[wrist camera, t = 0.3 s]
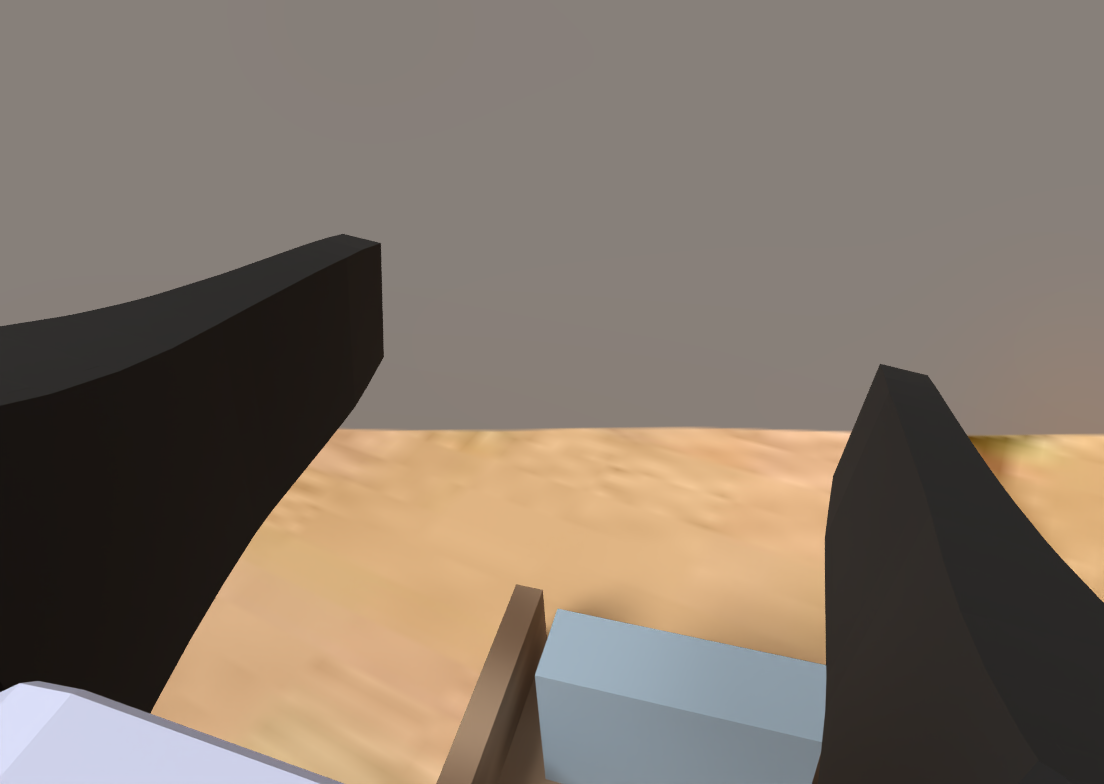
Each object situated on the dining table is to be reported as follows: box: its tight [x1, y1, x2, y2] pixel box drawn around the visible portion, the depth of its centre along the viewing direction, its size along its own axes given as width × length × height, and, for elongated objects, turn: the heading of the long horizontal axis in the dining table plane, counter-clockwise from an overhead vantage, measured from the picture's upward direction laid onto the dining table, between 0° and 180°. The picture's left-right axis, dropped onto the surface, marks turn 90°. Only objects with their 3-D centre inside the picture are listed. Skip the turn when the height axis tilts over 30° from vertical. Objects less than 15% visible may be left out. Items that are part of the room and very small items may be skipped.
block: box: [535, 609, 826, 784], centre depth 26 cm, size 2×8×6 cm, turn 74°
